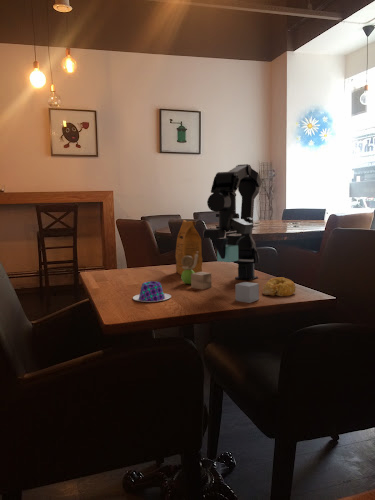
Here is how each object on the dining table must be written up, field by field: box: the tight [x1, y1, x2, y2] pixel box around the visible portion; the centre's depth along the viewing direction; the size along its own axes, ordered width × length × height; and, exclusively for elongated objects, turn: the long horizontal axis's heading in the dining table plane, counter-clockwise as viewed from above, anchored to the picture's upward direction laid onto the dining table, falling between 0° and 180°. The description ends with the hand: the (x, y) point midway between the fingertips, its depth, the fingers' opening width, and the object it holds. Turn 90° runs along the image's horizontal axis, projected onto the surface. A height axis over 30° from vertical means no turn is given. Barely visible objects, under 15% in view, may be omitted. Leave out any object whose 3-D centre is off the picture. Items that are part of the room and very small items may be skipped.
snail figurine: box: [180, 251, 198, 285], centre depth 150 cm, size 5×6×12 cm
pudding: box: [132, 280, 172, 303], centre depth 130 cm, size 12×12×5 cm
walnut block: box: [190, 271, 213, 290], centre depth 144 cm, size 5×5×5 cm
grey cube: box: [235, 281, 260, 304], centre depth 125 cm, size 5×5×5 cm
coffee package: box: [175, 219, 203, 276], centre depth 171 cm, size 10×12×22 cm
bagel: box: [262, 276, 297, 297], centre depth 132 cm, size 10×11×5 cm
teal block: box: [216, 244, 238, 263], centre depth 138 cm, size 5×5×5 cm
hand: (227, 257), depth 138 cm, fingers closed on teal block, 5 cm apart
